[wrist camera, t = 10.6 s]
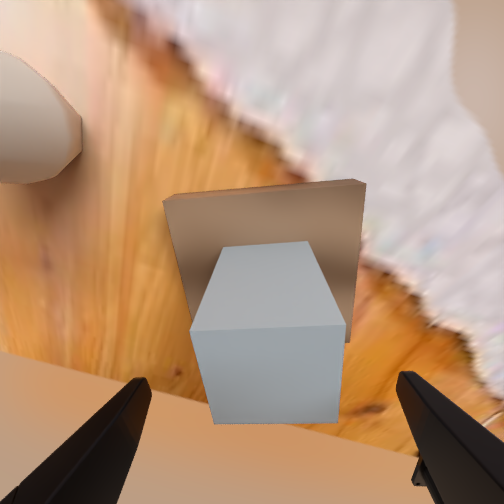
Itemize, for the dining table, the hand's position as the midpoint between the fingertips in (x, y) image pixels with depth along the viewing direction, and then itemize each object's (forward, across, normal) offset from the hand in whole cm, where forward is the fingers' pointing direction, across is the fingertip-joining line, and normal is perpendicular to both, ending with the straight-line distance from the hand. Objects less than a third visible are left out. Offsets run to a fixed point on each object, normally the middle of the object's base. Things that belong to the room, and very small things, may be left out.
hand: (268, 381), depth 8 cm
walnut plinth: (+9, 0, 0) cm, 9 cm away
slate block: (+7, 0, 0) cm, 7 cm away
